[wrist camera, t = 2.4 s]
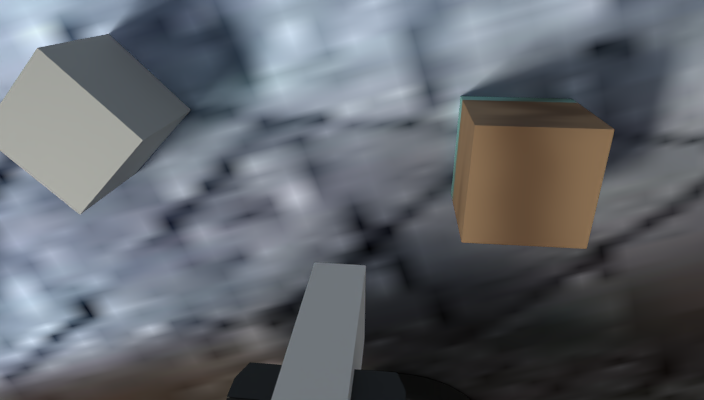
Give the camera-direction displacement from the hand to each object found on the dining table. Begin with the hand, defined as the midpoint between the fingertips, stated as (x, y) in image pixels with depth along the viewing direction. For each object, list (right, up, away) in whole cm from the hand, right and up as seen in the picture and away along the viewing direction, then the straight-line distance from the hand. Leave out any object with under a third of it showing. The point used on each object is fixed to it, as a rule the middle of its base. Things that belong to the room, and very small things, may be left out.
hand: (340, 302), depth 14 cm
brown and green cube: (+9, +6, +14) cm, 18 cm away
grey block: (-13, +9, +15) cm, 22 cm away
